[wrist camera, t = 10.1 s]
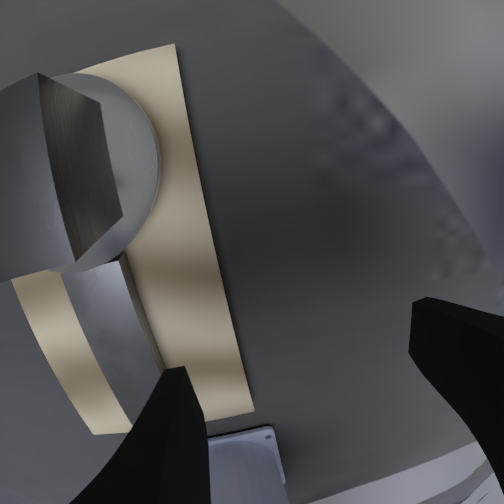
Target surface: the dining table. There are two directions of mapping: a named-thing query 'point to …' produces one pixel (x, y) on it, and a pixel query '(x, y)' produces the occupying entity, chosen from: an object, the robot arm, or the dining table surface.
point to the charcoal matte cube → (52, 177)
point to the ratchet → (119, 251)
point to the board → (152, 271)
